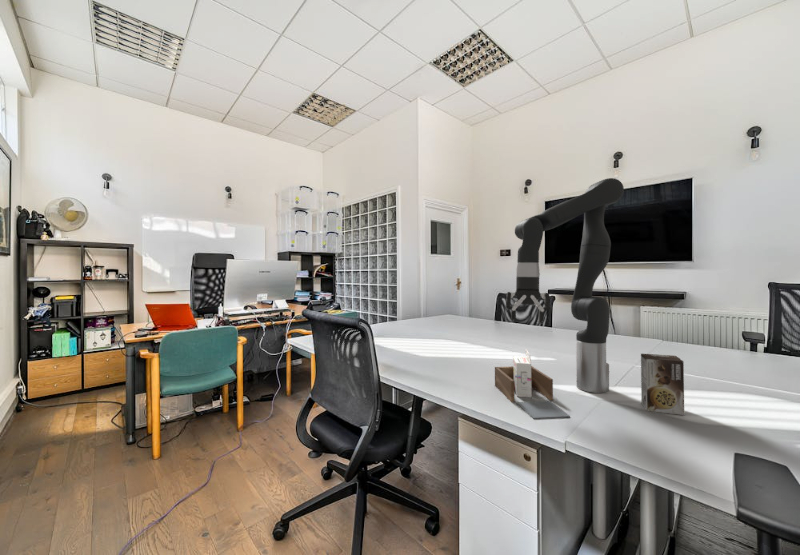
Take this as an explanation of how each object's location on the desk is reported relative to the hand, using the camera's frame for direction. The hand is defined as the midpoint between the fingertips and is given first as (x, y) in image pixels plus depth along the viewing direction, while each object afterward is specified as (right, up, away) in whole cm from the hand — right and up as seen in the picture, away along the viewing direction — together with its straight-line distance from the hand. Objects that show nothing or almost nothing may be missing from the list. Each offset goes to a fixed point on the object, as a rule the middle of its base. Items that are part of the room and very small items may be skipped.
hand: (527, 321), depth 112 cm
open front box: (-2, -25, 0) cm, 25 cm away
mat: (-1, -25, -14) cm, 29 cm away
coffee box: (+35, -25, -15) cm, 46 cm away
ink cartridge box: (-2, -25, 0) cm, 25 cm away
